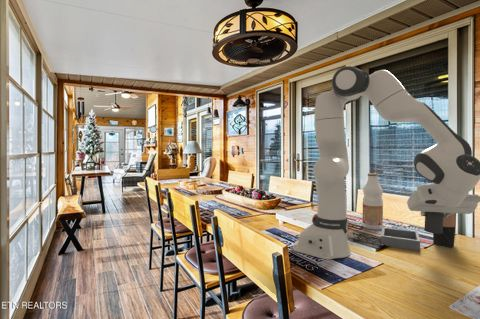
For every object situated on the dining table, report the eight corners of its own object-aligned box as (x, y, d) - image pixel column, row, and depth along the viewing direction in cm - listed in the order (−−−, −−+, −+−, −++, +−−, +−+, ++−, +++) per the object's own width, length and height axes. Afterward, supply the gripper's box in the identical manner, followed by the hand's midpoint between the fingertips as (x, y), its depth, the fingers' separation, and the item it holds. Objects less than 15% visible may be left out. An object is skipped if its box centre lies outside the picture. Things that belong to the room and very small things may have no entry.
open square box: (380, 245, 117) (380, 235, 116) (382, 235, 129) (382, 227, 128) (420, 251, 110) (420, 241, 109) (417, 240, 122) (417, 231, 122)
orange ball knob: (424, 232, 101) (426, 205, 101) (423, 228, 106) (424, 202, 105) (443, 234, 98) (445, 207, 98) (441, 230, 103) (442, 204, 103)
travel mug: (452, 249, 111) (453, 200, 110) (430, 244, 117) (431, 197, 116) (457, 244, 116) (458, 198, 115) (435, 240, 122) (436, 195, 121)
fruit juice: (370, 230, 136) (371, 174, 135) (358, 225, 145) (359, 173, 144) (386, 229, 138) (387, 174, 137) (373, 224, 147) (374, 172, 146)
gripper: (480, 187, 92) (462, 209, 102) (412, 185, 97) (401, 206, 107) (488, 203, 88) (468, 224, 98) (417, 200, 92) (405, 220, 103)
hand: (433, 215), depth 102 cm, fingers closed on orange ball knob, 5 cm apart
